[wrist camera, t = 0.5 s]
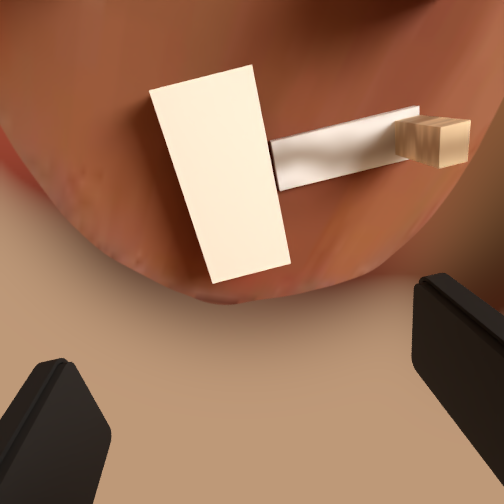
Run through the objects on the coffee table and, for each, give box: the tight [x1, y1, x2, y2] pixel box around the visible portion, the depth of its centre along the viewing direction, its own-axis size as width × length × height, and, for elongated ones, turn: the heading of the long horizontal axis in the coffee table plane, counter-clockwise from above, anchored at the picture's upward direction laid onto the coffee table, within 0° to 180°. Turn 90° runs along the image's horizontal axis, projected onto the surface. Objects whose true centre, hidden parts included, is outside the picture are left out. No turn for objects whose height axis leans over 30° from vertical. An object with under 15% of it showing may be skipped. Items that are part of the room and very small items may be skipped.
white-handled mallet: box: [270, 106, 471, 191], centre depth 37 cm, size 6×18×10 cm, turn 103°
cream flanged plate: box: [149, 65, 291, 283], centre depth 38 cm, size 22×10×6 cm, turn 13°
